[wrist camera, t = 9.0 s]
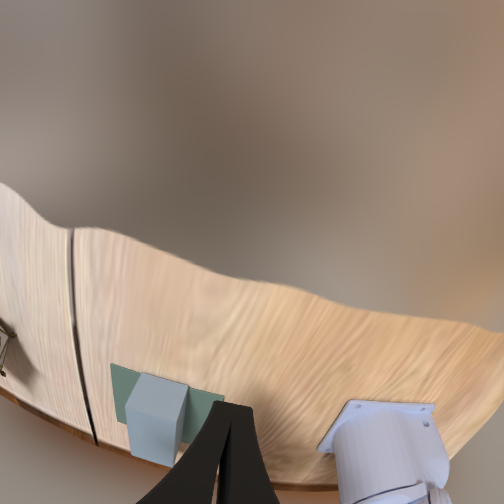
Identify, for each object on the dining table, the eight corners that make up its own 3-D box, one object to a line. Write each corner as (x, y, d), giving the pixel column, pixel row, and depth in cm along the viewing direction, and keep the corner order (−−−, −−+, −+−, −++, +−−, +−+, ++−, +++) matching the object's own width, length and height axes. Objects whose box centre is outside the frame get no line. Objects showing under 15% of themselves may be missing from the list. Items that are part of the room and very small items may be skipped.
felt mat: (224, 395, 24) (223, 397, 23) (210, 447, 27) (210, 448, 27) (111, 363, 23) (110, 364, 23) (118, 419, 27) (117, 421, 26)
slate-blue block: (176, 422, 19) (173, 467, 22) (188, 385, 23) (182, 436, 26) (124, 405, 19) (131, 454, 22) (142, 372, 23) (143, 424, 26)
